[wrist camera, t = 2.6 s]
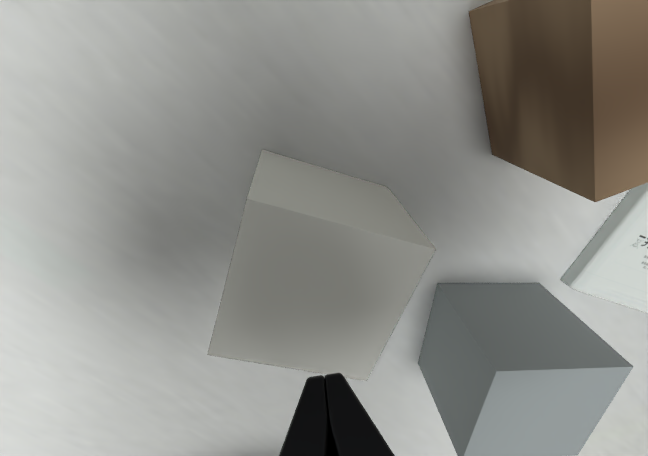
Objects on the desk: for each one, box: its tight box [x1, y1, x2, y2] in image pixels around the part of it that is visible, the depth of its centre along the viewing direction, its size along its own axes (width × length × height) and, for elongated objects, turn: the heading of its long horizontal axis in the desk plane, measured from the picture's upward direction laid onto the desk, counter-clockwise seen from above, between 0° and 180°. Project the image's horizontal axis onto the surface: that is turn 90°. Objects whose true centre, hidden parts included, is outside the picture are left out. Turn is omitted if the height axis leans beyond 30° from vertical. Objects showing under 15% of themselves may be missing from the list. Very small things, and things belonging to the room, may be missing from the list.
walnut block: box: [469, 0, 648, 202], centre depth 12 cm, size 6×6×6 cm
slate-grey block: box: [418, 283, 633, 456], centre depth 18 cm, size 6×6×6 cm
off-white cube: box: [207, 150, 436, 381], centre depth 14 cm, size 6×6×6 cm
